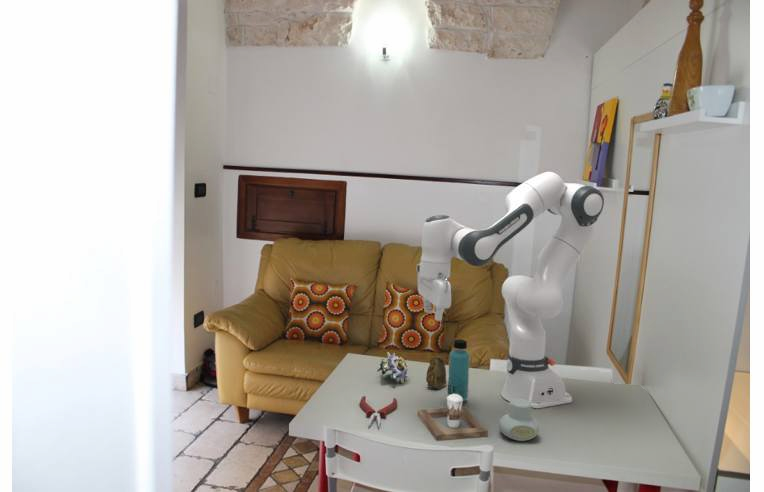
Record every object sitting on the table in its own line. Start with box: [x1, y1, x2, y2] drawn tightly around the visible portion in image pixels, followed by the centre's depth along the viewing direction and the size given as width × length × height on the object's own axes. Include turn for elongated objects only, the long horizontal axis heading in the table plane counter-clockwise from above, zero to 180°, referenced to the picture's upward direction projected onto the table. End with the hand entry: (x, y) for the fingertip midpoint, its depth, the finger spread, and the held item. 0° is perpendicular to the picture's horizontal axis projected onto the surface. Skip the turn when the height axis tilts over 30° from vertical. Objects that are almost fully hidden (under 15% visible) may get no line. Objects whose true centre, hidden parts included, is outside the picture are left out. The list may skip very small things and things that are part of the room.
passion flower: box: [376, 351, 408, 384], centre depth 211 cm, size 11×11×12 cm
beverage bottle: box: [446, 338, 471, 401], centre depth 193 cm, size 6×7×20 cm
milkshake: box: [444, 393, 464, 429], centre depth 176 cm, size 4×5×10 cm
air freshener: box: [498, 399, 540, 442], centre depth 171 cm, size 11×8×10 cm
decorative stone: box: [425, 356, 447, 390], centre depth 207 cm, size 10×9×4 cm
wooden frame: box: [416, 406, 489, 441], centre depth 177 cm, size 15×17×2 cm
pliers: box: [359, 395, 398, 429], centre depth 182 cm, size 12×20×3 cm, turn 176°
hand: (432, 316), depth 184 cm, fingers open, 8 cm apart
